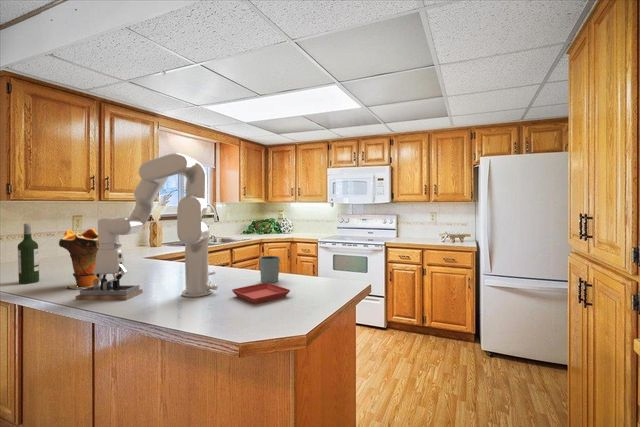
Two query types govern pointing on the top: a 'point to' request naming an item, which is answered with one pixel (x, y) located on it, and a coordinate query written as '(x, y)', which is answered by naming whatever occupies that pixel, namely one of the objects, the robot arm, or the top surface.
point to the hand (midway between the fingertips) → (110, 288)
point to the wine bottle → (28, 258)
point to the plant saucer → (260, 292)
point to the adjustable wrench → (212, 272)
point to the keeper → (99, 297)
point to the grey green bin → (269, 268)
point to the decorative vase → (82, 256)
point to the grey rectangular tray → (111, 290)
